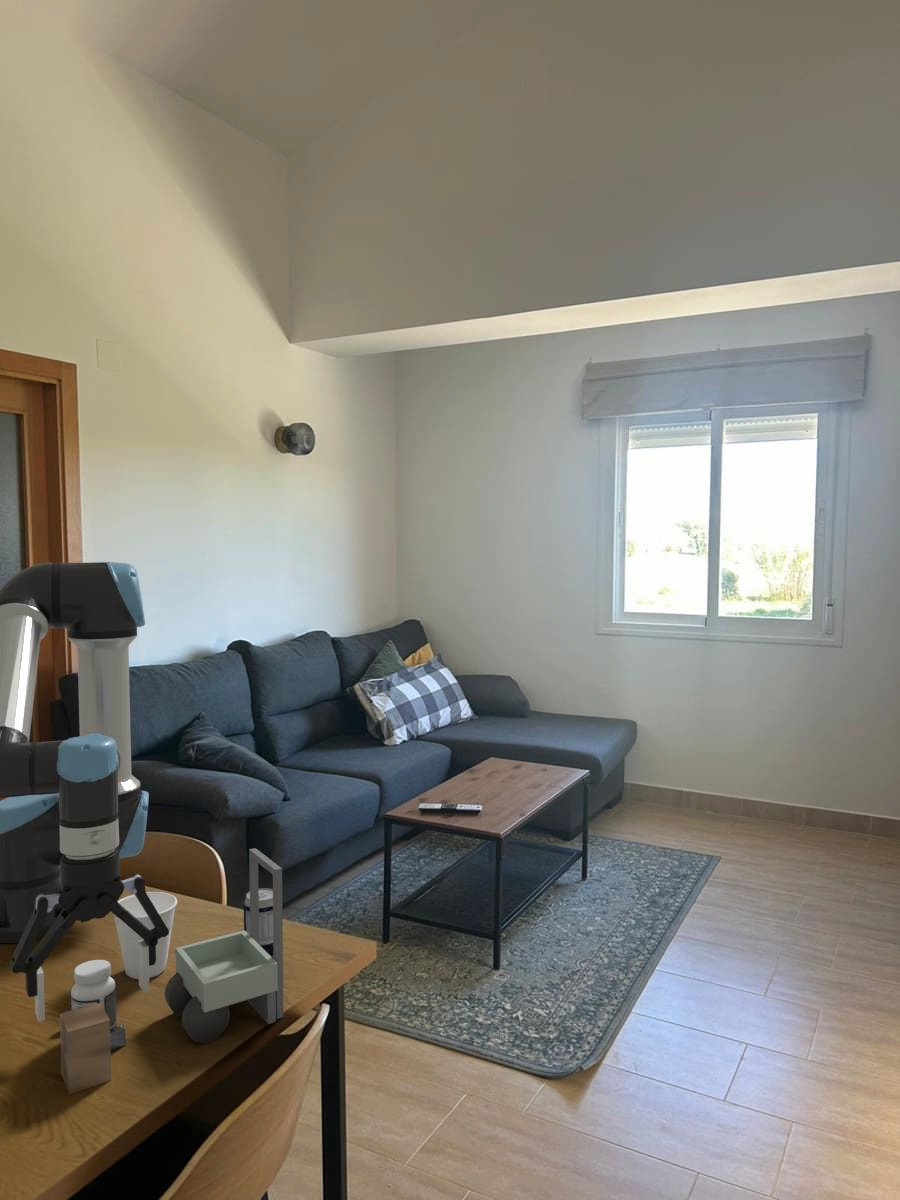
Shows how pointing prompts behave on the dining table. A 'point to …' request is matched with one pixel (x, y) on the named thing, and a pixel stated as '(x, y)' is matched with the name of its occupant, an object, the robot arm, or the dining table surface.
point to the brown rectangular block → (85, 1047)
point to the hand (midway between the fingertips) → (93, 1002)
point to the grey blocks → (116, 1036)
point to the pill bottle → (95, 988)
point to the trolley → (231, 969)
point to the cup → (130, 938)
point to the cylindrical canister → (262, 919)
